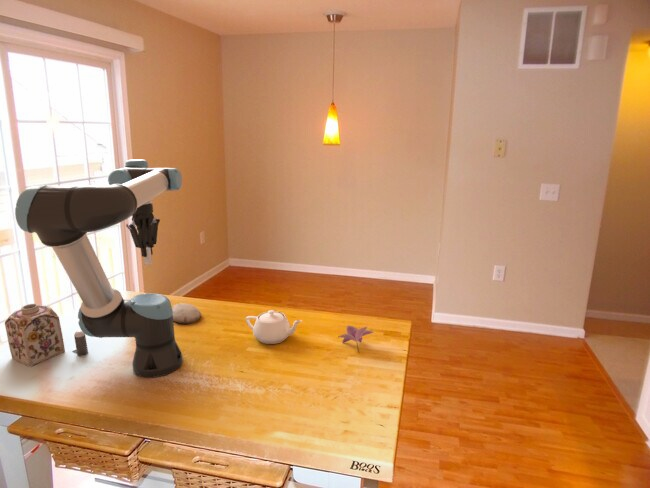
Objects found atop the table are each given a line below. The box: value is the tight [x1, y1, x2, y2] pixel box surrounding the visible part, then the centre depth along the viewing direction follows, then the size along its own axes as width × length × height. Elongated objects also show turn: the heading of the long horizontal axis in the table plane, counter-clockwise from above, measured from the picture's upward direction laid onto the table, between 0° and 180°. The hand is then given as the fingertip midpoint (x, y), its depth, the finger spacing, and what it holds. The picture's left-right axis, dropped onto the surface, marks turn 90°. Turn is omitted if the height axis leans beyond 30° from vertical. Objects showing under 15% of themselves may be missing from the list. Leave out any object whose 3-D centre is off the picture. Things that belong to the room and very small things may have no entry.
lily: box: [338, 325, 375, 354], centre depth 149 cm, size 12×12×10 cm
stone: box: [171, 302, 202, 325], centre depth 173 cm, size 13×10×8 cm
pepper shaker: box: [74, 329, 89, 357], centre depth 145 cm, size 3×3×9 cm
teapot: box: [245, 309, 303, 345], centre depth 156 cm, size 22×14×11 cm, turn 73°
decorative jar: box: [4, 303, 66, 367], centre depth 143 cm, size 12×12×18 cm
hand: (148, 264), depth 163 cm, fingers closed
